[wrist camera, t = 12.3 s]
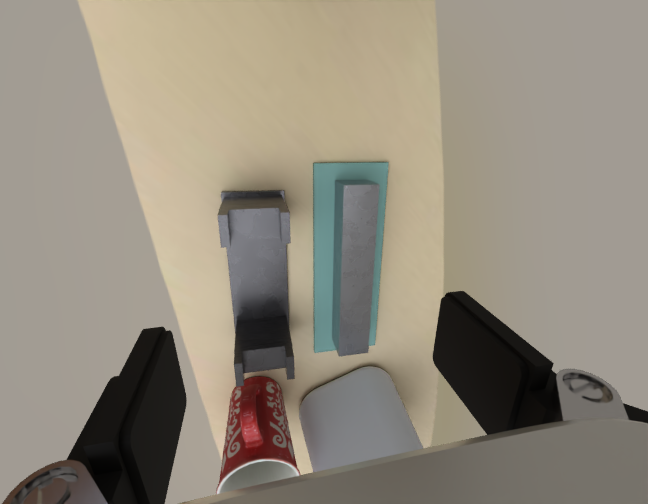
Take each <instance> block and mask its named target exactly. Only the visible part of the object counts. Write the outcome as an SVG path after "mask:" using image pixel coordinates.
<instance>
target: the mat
mask: <svg viewBox="0 0 648 504" xmlns="http://www.w3.org/2000/svg"><path fill="white" fill-rule="evenodd" d="M387 176H388V162H361V163H313V223H314V352H315V353H318V352H325V351H333V350H336V348H335V345H334V343H333V340H332V303H333V253H334V203H335V180H361V179H368V180H370V181H372V182H375V183H377V184H380V186H379V201H378V216H377V230H376V245H375V260H374V275H373V289H372V304H371V319H370V334H369V346H372V345H375V337H376V324H377V311H378V297H379V284H380V270H381V257H382V244H383V230H384V217H385V203H386V190H387Z"/></svg>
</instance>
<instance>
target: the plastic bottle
mask: <svg viewBox="0 0 648 504" xmlns="http://www.w3.org/2000/svg"><path fill="white" fill-rule="evenodd" d="M299 418H300V422H301V426H302V430H303V434H304V437H305V441H306V445H307V449H308V453H309V457H310V461H311V464H312V468H313V472H317V471H322V470H326V469H331V468H335V467H340V466H345V465H349V464H354V463H358V462H363V461H368V460H372V459H377V458H381V457H386V456H391V455H395V454H400V453H405V452H409V451H414V450H419V449H423V446H422V444H421V442H420V440H419V437H418V435H417V433H416V431H415V429H414V427H413V424H412V422H411V420H410V418H409V416H408V414H407V411H406V409H405V407H404V405H403V403H402V401H401V398H400V396H399V394H398V392H397V390H396V388H395V385H394V383H393V381H392V379H391V377H390V376H389V374H388V373H387V372H385V371H384V370H382V369H380V368H378V367H371V366H369V367H362V368H359V369H357V370H355V371H353V372H350V373H348V374H346V375H344V376H342V377H340V378H338V379H335V380H333V381H331V382H329V383H327V384H325V385H323V386H320V387H318V388H316V389H314V390H313V391H311V392H310V393H309V394H308V395H307V396H306V397H305V398H304V400H303V401H302V403H301V406H300V409H299Z"/></svg>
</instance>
